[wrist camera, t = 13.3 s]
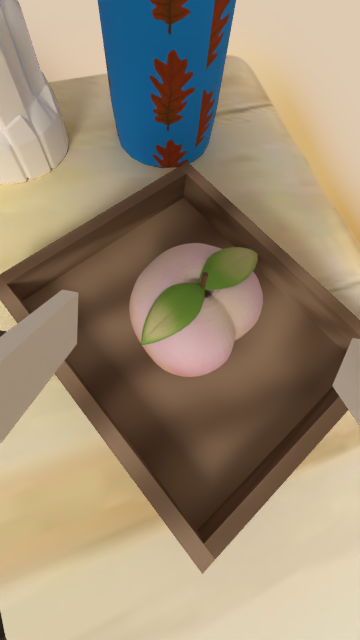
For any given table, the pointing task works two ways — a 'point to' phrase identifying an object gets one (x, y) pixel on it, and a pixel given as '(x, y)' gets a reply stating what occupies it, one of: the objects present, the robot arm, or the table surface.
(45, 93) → the decorative vase
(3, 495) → the table surface
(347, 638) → the table surface
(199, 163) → the table surface
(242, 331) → the decorative fruit
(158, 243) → the walnut tray
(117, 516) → the table surface
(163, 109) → the thermos
